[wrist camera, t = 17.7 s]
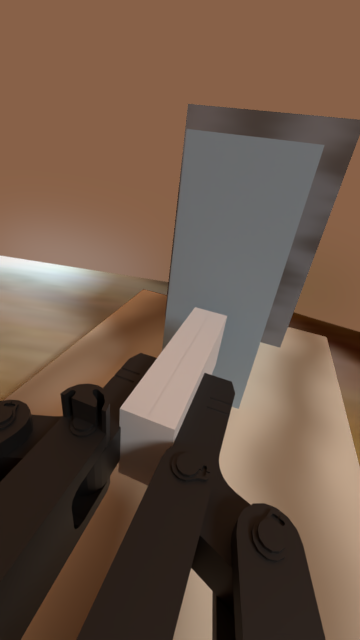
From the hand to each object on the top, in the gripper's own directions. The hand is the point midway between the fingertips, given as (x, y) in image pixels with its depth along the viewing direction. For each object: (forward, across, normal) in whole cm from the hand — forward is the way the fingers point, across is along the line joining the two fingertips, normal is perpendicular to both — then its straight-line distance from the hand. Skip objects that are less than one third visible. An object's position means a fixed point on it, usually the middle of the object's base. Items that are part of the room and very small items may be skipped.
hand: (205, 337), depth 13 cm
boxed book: (+5, 0, -5) cm, 7 cm away
